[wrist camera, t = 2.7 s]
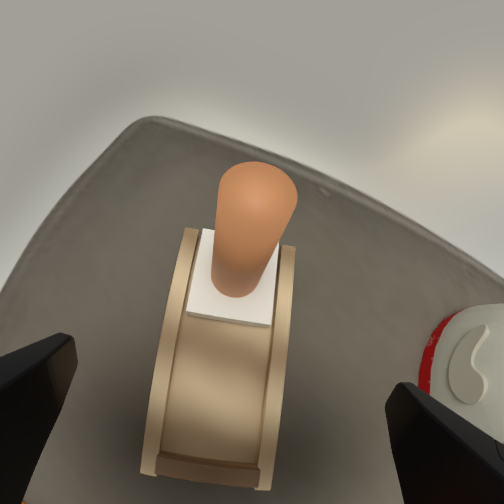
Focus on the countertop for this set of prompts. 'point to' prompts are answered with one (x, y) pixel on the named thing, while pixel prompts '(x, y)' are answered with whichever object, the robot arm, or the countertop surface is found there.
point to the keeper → (243, 246)
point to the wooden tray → (217, 386)
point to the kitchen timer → (469, 366)
